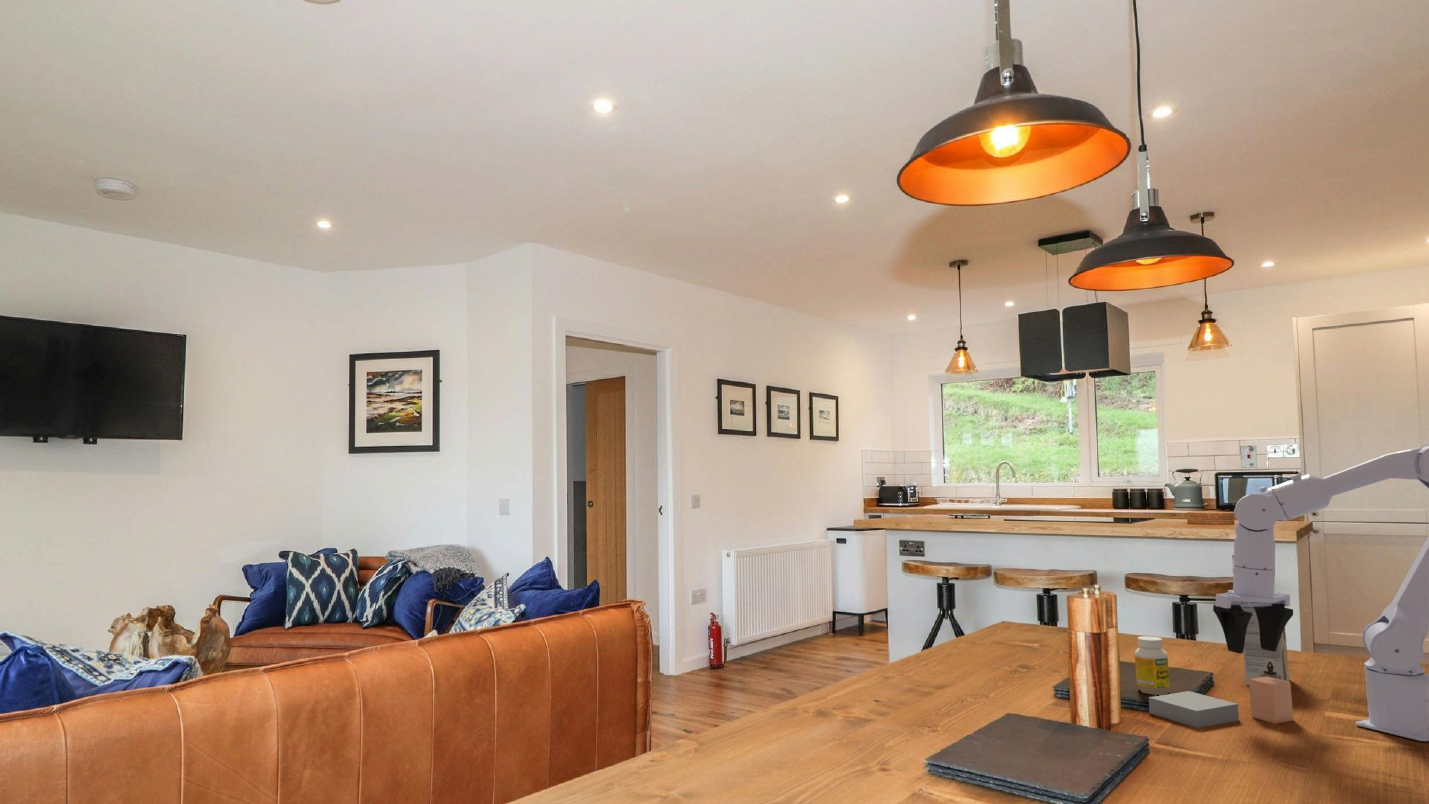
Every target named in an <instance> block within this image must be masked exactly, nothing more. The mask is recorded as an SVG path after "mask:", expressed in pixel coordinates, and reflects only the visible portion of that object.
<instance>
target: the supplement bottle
mask: <svg viewBox="0 0 1429 804" xmlns="http://www.w3.org/2000/svg"><path fill="white" fill-rule="evenodd" d="M1137 644H1138V647H1139V648H1138V647H1137V649H1135V651H1134V662H1135V663H1134V664H1135V674H1136V676H1135V678H1136V685H1137V684H1138V685H1140V686H1142V687H1149V688H1165V687H1170V688H1171V686H1170V672H1169V670H1170V669H1169V658H1168V657H1169V655H1168V652H1167V651H1165V649H1163V646H1164V644H1163V638H1162V637H1158V636H1149V635H1147V636H1146V635H1144V636H1143V635H1142V636H1138V637H1137Z"/></svg>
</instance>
